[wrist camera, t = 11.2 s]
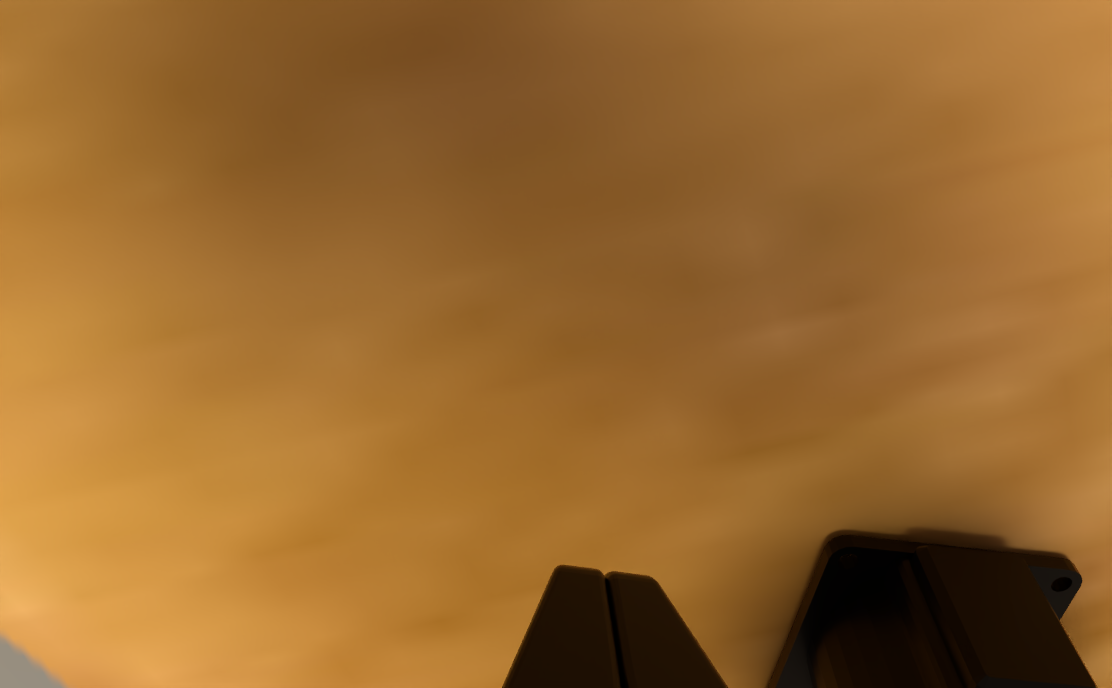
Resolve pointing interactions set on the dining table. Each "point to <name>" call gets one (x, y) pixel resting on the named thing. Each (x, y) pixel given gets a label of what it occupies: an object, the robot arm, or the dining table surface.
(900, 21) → the dining table surface
